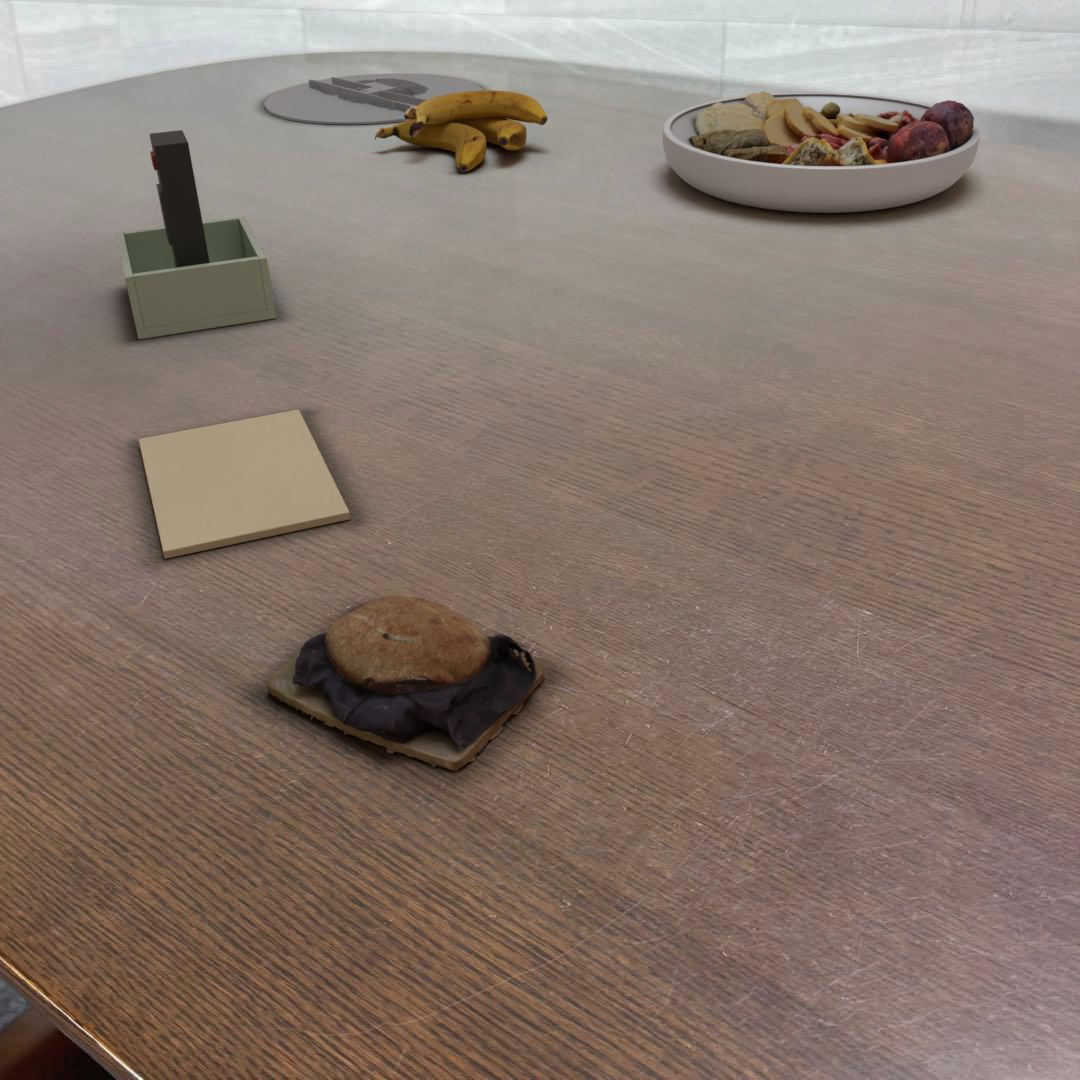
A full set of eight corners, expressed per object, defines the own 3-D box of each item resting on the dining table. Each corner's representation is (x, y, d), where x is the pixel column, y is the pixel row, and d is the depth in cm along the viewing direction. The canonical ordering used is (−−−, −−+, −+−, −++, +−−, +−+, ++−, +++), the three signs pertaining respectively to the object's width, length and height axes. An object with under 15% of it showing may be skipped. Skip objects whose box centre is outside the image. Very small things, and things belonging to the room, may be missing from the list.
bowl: (630, 213, 111) (631, 125, 107) (693, 133, 135) (696, 59, 131) (970, 234, 103) (985, 141, 99) (972, 146, 127) (985, 68, 123)
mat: (350, 519, 66) (349, 511, 66) (164, 559, 63) (162, 551, 63) (299, 416, 77) (298, 408, 77) (139, 445, 74) (138, 438, 74)
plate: (225, 100, 157) (224, 90, 157) (402, 67, 172) (401, 58, 171) (339, 137, 139) (338, 126, 138) (526, 96, 154) (526, 86, 153)
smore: (255, 702, 53) (240, 636, 51) (372, 605, 59) (364, 542, 57) (451, 786, 48) (443, 715, 46) (558, 670, 54) (555, 604, 52)
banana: (384, 138, 138) (379, 86, 135) (550, 135, 137) (548, 82, 134) (363, 175, 125) (357, 118, 122) (546, 171, 124) (545, 114, 121)
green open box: (138, 339, 89) (124, 277, 86) (128, 290, 98) (115, 232, 95) (276, 318, 92) (266, 257, 89) (254, 272, 101) (244, 215, 98)
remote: (181, 305, 92) (150, 146, 86) (176, 288, 96) (145, 133, 89) (216, 300, 93) (188, 142, 87) (210, 283, 96) (182, 129, 90)
